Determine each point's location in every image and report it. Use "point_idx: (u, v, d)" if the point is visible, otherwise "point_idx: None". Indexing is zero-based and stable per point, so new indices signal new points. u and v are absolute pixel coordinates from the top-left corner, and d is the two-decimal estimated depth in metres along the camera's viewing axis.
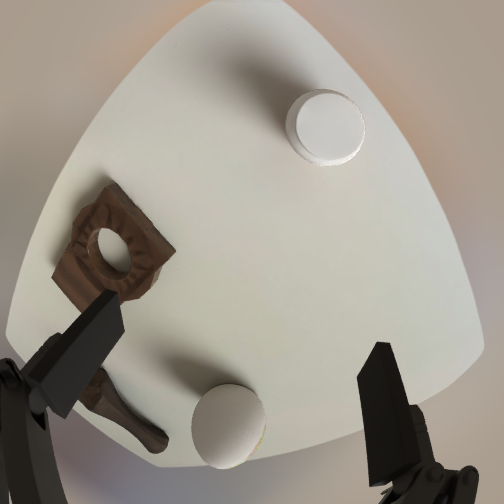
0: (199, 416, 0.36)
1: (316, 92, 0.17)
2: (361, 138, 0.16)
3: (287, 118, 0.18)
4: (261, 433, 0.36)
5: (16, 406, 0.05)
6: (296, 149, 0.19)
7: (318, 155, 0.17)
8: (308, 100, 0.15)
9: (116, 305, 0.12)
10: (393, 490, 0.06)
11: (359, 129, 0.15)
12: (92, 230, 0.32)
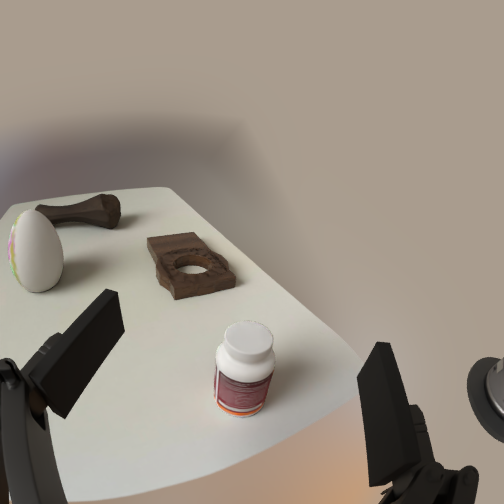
0: (59, 240, 0.42)
1: (273, 352, 0.27)
2: (238, 349, 0.23)
3: None
4: (16, 260, 0.34)
5: (16, 406, 0.05)
6: None
7: (230, 326, 0.26)
8: (268, 329, 0.26)
9: (116, 305, 0.12)
10: (394, 490, 0.06)
11: (245, 349, 0.23)
12: (211, 262, 0.55)
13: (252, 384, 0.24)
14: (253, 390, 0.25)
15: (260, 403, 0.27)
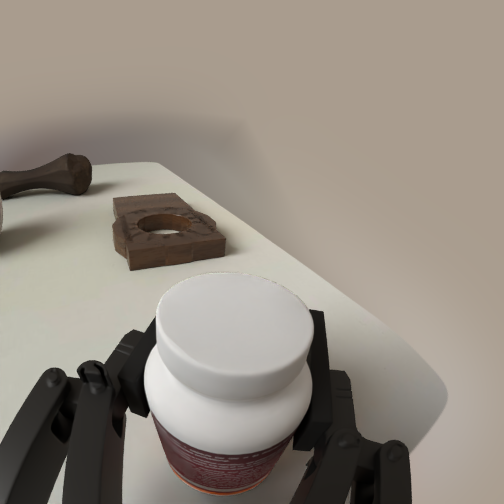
0: None
1: (304, 361, 0.09)
2: (193, 356, 0.06)
3: None
4: None
5: (96, 413, 0.07)
6: None
7: (180, 283, 0.09)
8: (293, 294, 0.09)
9: None
10: (314, 461, 0.08)
11: (219, 358, 0.06)
12: (192, 222, 0.37)
13: (247, 458, 0.07)
14: (248, 465, 0.07)
15: (267, 474, 0.10)
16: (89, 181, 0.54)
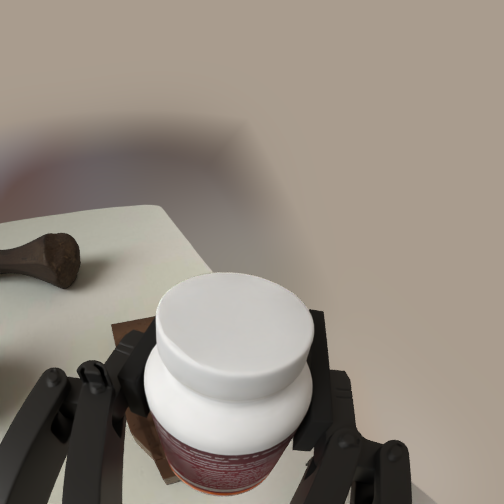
0: None
1: (304, 362, 0.09)
2: (193, 357, 0.06)
3: None
4: None
5: (97, 413, 0.07)
6: None
7: (180, 283, 0.09)
8: (294, 295, 0.09)
9: None
10: (315, 461, 0.08)
11: (219, 358, 0.06)
12: None
13: (247, 458, 0.07)
14: (248, 465, 0.07)
15: (267, 474, 0.10)
16: (77, 267, 0.43)
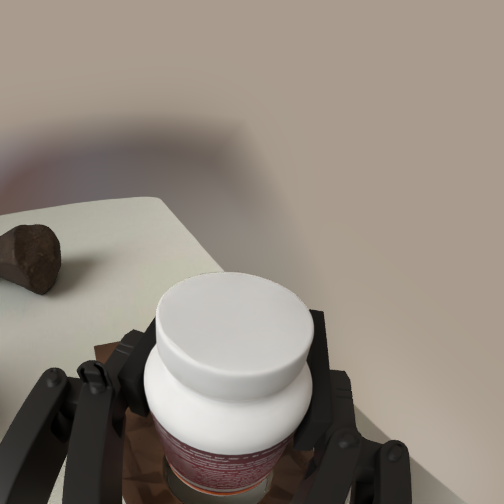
0: None
1: (304, 361, 0.09)
2: (193, 356, 0.06)
3: None
4: None
5: (96, 413, 0.07)
6: None
7: (180, 283, 0.09)
8: (293, 294, 0.09)
9: None
10: (314, 461, 0.08)
11: (219, 358, 0.06)
12: None
13: (247, 458, 0.07)
14: (248, 465, 0.07)
15: (267, 474, 0.10)
16: (57, 267, 0.32)
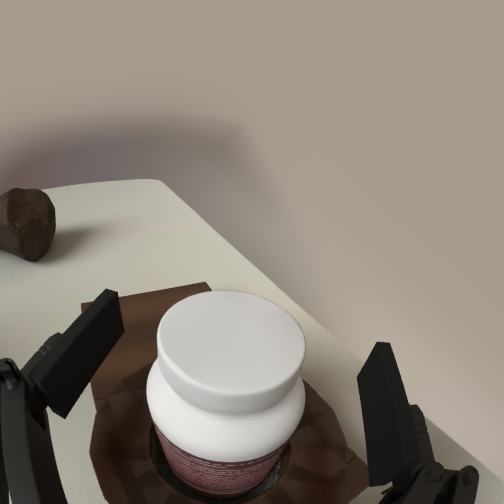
0: None
1: (298, 375, 0.10)
2: (192, 376, 0.06)
3: None
4: None
5: (16, 406, 0.05)
6: None
7: (180, 303, 0.09)
8: (288, 313, 0.09)
9: (116, 305, 0.12)
10: (393, 490, 0.06)
11: (216, 378, 0.06)
12: None
13: (242, 465, 0.07)
14: (244, 471, 0.08)
15: (263, 478, 0.10)
16: (51, 233, 0.30)
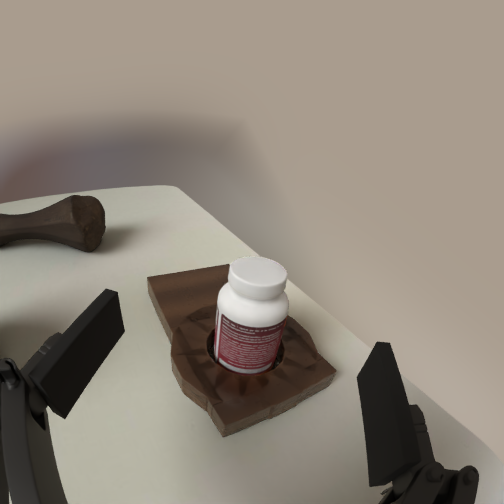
0: None
1: (285, 294, 0.23)
2: (246, 280, 0.20)
3: None
4: None
5: (16, 406, 0.05)
6: None
7: (236, 260, 0.23)
8: (280, 264, 0.23)
9: (116, 305, 0.12)
10: (394, 490, 0.06)
11: (255, 281, 0.20)
12: (282, 338, 0.27)
13: (262, 331, 0.21)
14: (262, 339, 0.21)
15: (270, 364, 0.24)
16: (103, 231, 0.44)
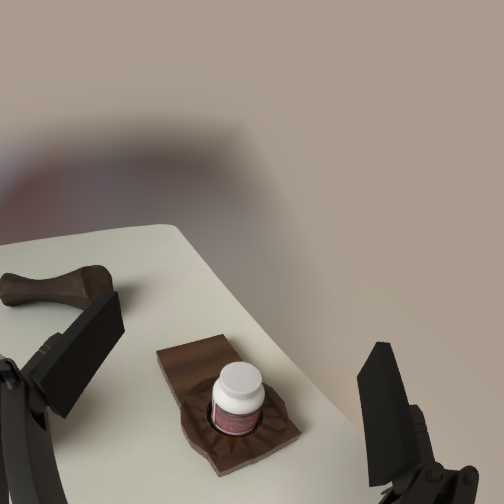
0: None
1: (262, 387, 0.29)
2: (231, 389, 0.26)
3: None
4: None
5: (16, 406, 0.05)
6: None
7: (224, 367, 0.29)
8: (258, 370, 0.29)
9: (116, 305, 0.12)
10: (394, 490, 0.06)
11: (237, 389, 0.26)
12: (262, 406, 0.33)
13: (244, 416, 0.27)
14: (244, 419, 0.27)
15: (252, 428, 0.30)
16: None
